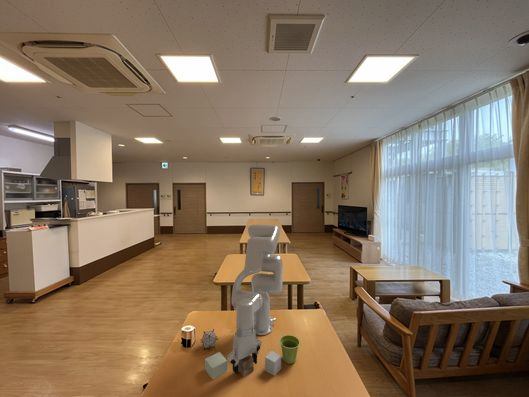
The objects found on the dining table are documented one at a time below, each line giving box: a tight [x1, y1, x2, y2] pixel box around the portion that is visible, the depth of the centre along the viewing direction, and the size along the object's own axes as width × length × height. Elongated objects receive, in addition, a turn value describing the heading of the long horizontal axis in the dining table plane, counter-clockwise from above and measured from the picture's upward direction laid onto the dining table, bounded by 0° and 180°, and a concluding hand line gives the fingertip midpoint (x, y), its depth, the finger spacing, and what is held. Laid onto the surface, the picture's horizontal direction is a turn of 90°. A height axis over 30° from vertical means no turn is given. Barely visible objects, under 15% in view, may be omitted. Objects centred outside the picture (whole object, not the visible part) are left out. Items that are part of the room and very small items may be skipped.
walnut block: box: [238, 354, 254, 378], centre depth 101 cm, size 5×5×6 cm
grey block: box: [264, 350, 282, 376], centre depth 102 cm, size 5×5×6 cm
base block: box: [204, 351, 228, 380], centre depth 101 cm, size 7×7×5 cm
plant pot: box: [279, 334, 301, 365], centre depth 108 cm, size 9×9×9 cm
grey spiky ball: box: [200, 329, 219, 351], centre depth 116 cm, size 9×8×10 cm
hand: (245, 367), depth 101 cm, fingers open, 9 cm apart
